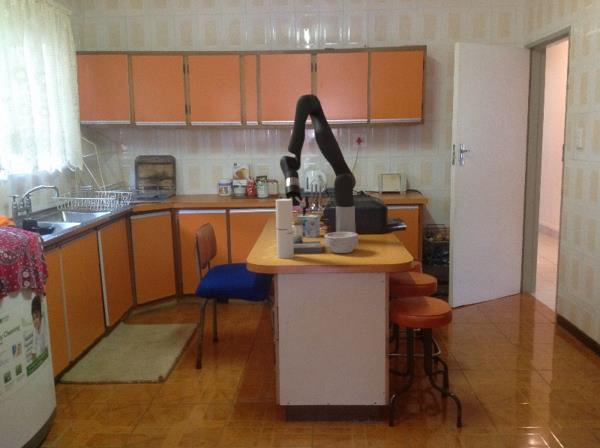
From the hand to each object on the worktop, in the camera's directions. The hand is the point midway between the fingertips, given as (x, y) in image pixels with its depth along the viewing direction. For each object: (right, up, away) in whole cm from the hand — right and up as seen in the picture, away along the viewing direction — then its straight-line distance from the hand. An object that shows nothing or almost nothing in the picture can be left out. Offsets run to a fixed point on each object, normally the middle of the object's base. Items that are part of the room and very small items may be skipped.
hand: (295, 215), depth 259 cm
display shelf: (+4, -16, -8) cm, 18 cm away
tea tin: (+1, -13, -5) cm, 14 cm away
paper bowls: (+21, -17, -12) cm, 30 cm away
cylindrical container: (-4, -19, -20) cm, 27 cm away
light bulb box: (+7, -10, +25) cm, 28 cm away
